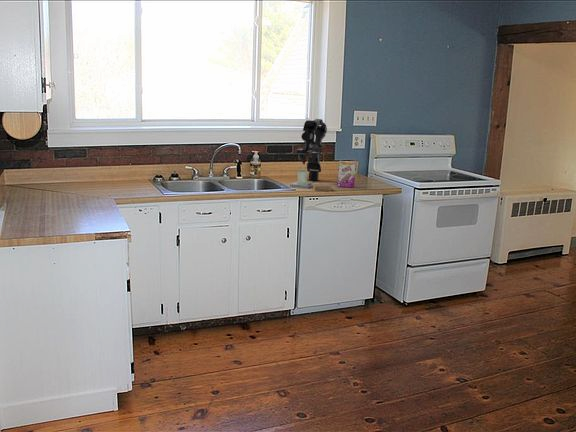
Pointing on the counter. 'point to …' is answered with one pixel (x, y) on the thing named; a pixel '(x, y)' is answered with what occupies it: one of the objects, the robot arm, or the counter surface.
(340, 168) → the candy bar box
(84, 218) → the counter surface
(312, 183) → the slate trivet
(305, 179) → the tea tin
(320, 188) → the tan flat block
